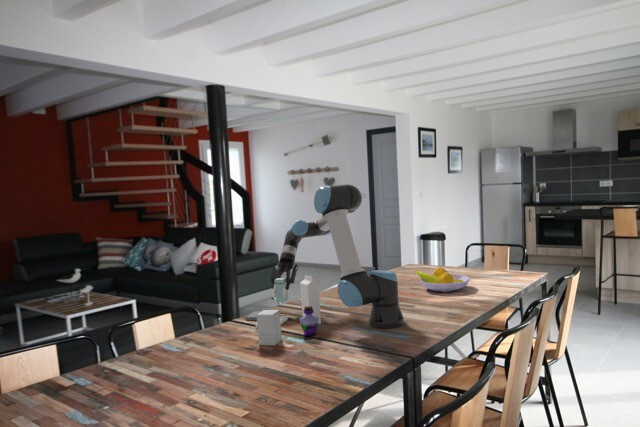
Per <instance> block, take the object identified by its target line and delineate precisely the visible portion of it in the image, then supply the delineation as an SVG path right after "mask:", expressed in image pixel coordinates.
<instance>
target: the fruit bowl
mask: <svg viewBox="0 0 640 427" xmlns="http://www.w3.org/2000/svg"><path fill="white" fill-rule="evenodd" d="M414 272H415V273H416V274H417V275H418V277H419V278H420V279H419V281H420V284H422V287H425V288H426V289H428V290H431V291H434V292H441V293H448V292H455V291H458V290H460V289H463V288H464V287H467V286H468V284H469V281H470V280H471V278H470V277H468V276H466V275H463V274H455V273H449V272H448V270H446V269H445V268H444V267H443V268H442V267H436V269H434V270H433V271H432V274H427V273H424V272H421V271H418V270H417V269H416V270H415V269H414Z"/></svg>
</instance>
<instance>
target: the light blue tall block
mask: <svg viewBox="0 0 640 427" xmlns="http://www.w3.org/2000/svg"><path fill="white" fill-rule="evenodd" d="M274 281H275V292H276V297H275V301H276V303H286V302H288V301H289V291H288V290H289V289H288V290H287V292H286V296H285V297H284V296H283V294H282V292H283V288H284V284H285V282H287V279H286V277H280V278H277V279H275V280H274Z"/></svg>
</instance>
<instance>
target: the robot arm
mask: <svg viewBox="0 0 640 427" xmlns="http://www.w3.org/2000/svg"><path fill="white" fill-rule="evenodd" d="M362 202H363V196H362V192H361V191H360V189H359V188H358V187H356V186H354V185H352V184H337V185H336V184H335V185H325V186H320V187H318V189H317V190H316V191H315V193H314V197H313V206H314V211H316V212H317V213H318V214H321V215H322V216H321V217H320V218H318V219H317V220H316V221H311V222H306V221H305V220H303V219H298V220H296V221H295V222H294V223H293V224H292V226H291V228H290V229H288V230H287V231H286V234H285V236H284V237H285V238H284V241H283V242H284V243H283V246H282V248H281V249H282V250H281V254H280V258H279V261H278V264H276V265H274V264H273V265H272V272H271V277H270V279H269V281H270V283H271V284H272V286H271V288H272V294H271V295H272V296H273V297H275V298H276V292H275V281H274V280H275V279H277V278H282V275H283V274H284V273H285V274H286V277H285V278H286V279H287V282H285V284H284V288H283V292H282V294H283V296H284V297H285V296H286V292H287V290H289V289H290V285H291V284H294V283H295V280H296V277H297V271H298V270H299V265H298V264H295V262H296V256H297V251H298V248H299V244H300V243H301V241H302V239H304V238H312V237H319V236H325V235H331V238H332V242H333V245H334V248H335V253H336V256H337V259H338V263H339V267H340V271H341V275H340V277H339V282H338V284H337V295H338V297H339V300H340V301H341V302H342V304H343V305H345V306H346V307H348V308H357V307H362V306H365V305H370V304H371V310H370V314H369V317H368V324H369V326H371V327H372V328H376V329H394V328H399V327H401V326H403V325H404V323H405V318H404V315H403V312H402V310H401V308H400V307H401V306H400V305H399V304H400V303H399V288H398V287H399V286H398V283H399V282H398V277H397V273H396V272H394V271H391V270H380V269H379V270H377V269H375V270H373V269H372V270H371V271H369V273H367V270H366V269H364V268H362V266H361V265H362V264H361V262H360V258H359V254H358V252H357V249H356V248H357V247H356V244H355V241H354V237H353V233H352V231H351V227H350V224H349V220H348V217H347V215H348V214H351V213H355V211H356V210H358V209H359V207H361V205H362ZM291 270H292V271H291ZM368 274H369V275H368Z"/></svg>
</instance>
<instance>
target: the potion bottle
mask: <svg viewBox="0 0 640 427" xmlns="http://www.w3.org/2000/svg"><path fill="white" fill-rule="evenodd" d="M312 313H314V312H313V309H312V306H305V307H304V314H306V316H304V317H299V323H300V326H301V329H302V331H303V335H304V337H307V338H308V337H314V336H317V335H318V333H317V331H318V326H319V324H318V320H319V317H318V316H313V315H312Z"/></svg>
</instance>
